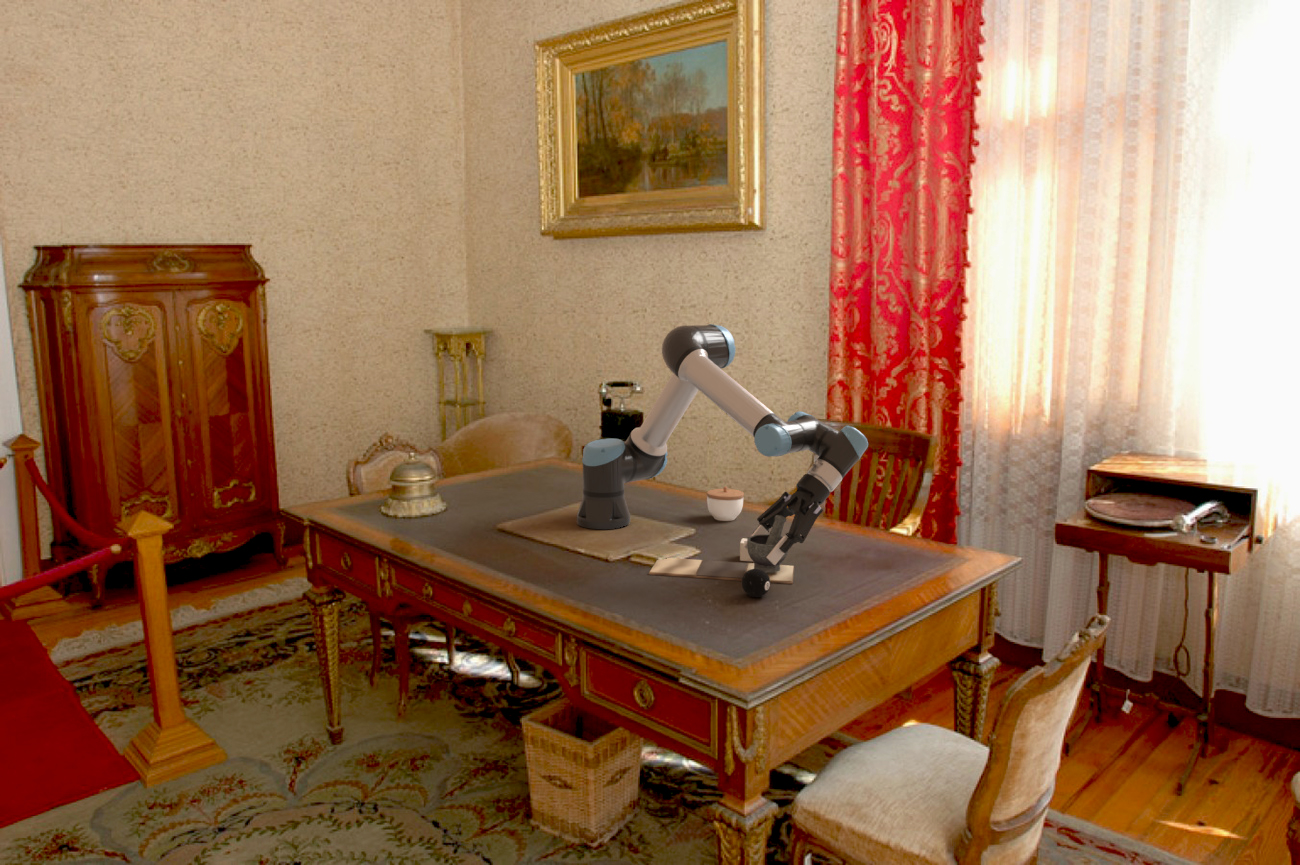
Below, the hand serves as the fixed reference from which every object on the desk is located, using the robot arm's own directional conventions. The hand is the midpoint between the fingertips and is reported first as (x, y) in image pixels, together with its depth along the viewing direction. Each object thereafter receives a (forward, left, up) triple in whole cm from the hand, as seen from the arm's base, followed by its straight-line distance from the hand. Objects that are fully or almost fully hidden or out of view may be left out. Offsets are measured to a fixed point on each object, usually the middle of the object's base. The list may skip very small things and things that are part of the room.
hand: (758, 555), depth 208 cm
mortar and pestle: (+2, +2, -4) cm, 5 cm away
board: (-8, +2, -5) cm, 10 cm away
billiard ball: (+1, -15, -5) cm, 16 cm away
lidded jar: (-13, +52, -5) cm, 54 cm away
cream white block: (-3, +13, -5) cm, 15 cm away
